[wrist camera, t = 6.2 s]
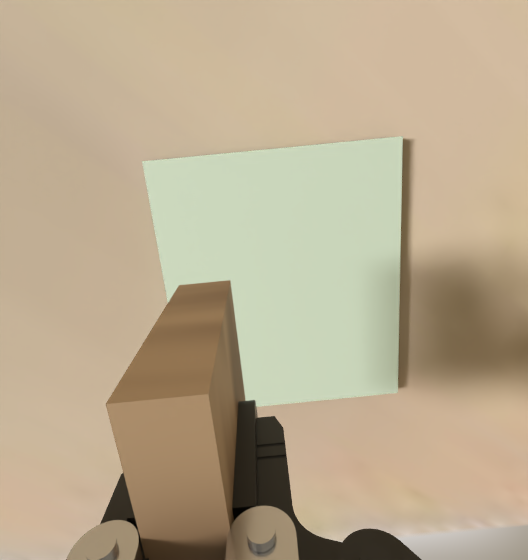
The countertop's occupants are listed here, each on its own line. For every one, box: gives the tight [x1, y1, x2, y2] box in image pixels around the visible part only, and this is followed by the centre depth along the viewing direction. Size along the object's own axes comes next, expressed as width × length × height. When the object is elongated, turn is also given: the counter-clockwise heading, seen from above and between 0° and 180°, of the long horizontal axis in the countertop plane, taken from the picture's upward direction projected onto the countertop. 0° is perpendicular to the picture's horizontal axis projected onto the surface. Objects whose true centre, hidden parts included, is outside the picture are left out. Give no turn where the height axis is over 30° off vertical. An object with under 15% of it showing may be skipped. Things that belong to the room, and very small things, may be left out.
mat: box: [142, 136, 403, 407], centre depth 23 cm, size 16×14×1 cm
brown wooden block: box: [106, 280, 246, 560], centre depth 10 cm, size 8×2×6 cm, turn 5°
